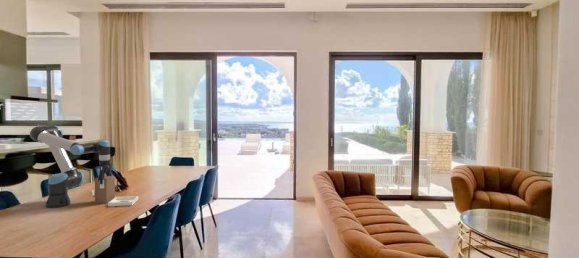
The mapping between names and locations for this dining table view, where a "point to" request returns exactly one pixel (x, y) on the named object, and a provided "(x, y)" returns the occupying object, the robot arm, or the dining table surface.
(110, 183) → the wooden block
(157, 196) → the dining table surface
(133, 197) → the dish
